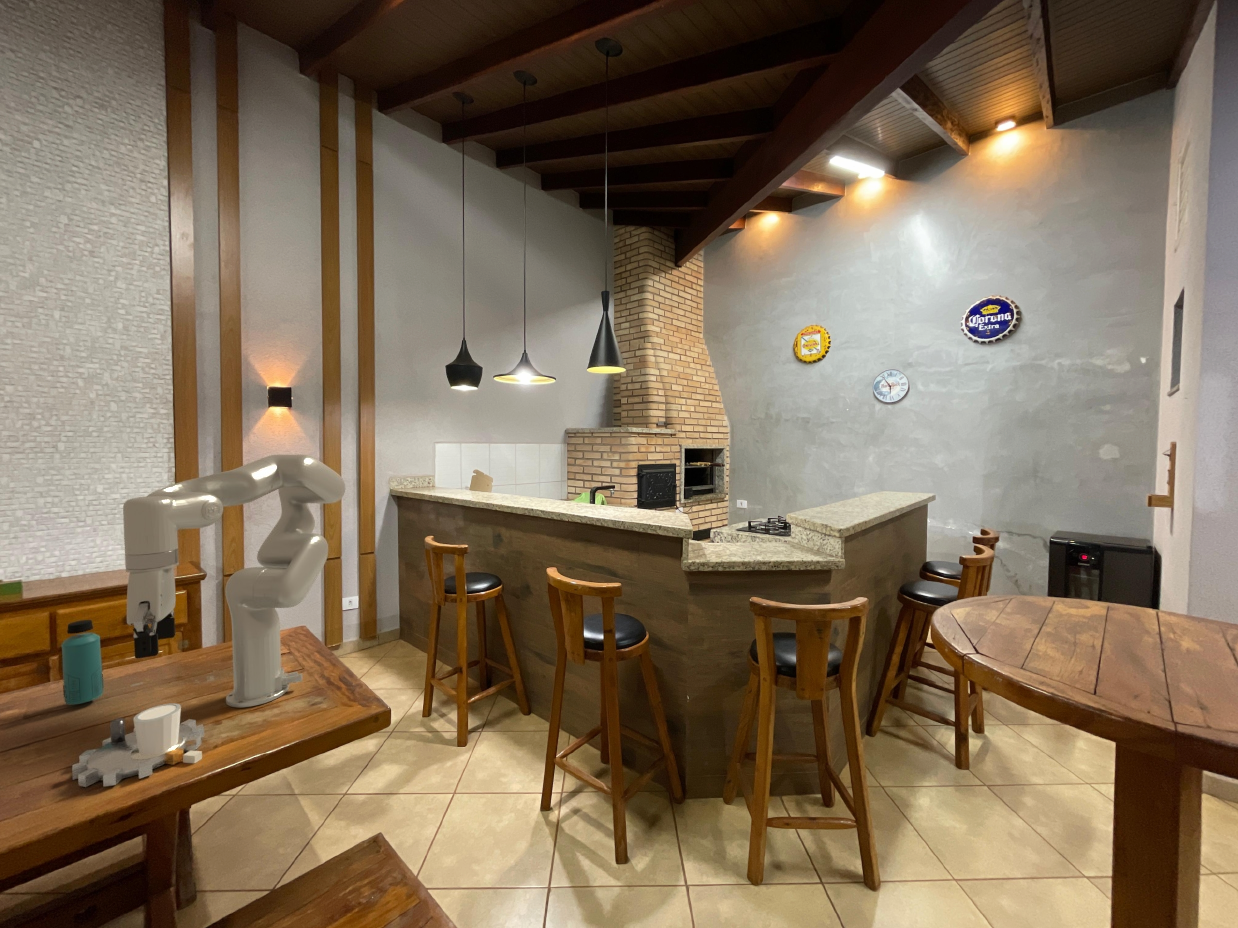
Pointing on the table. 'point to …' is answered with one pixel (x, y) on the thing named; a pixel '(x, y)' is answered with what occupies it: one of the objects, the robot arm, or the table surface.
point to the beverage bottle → (82, 664)
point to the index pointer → (192, 756)
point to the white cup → (157, 728)
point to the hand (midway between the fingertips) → (156, 646)
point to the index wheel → (131, 755)
